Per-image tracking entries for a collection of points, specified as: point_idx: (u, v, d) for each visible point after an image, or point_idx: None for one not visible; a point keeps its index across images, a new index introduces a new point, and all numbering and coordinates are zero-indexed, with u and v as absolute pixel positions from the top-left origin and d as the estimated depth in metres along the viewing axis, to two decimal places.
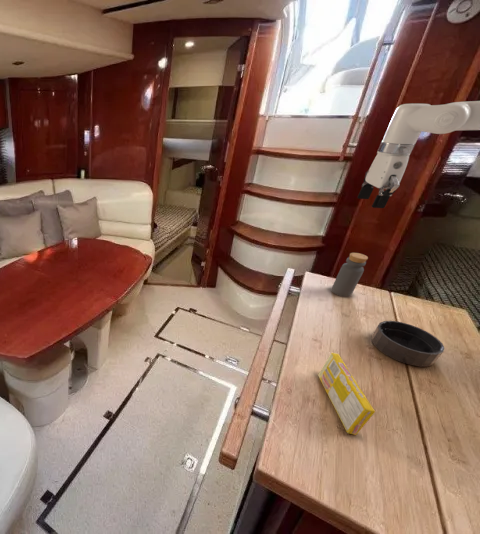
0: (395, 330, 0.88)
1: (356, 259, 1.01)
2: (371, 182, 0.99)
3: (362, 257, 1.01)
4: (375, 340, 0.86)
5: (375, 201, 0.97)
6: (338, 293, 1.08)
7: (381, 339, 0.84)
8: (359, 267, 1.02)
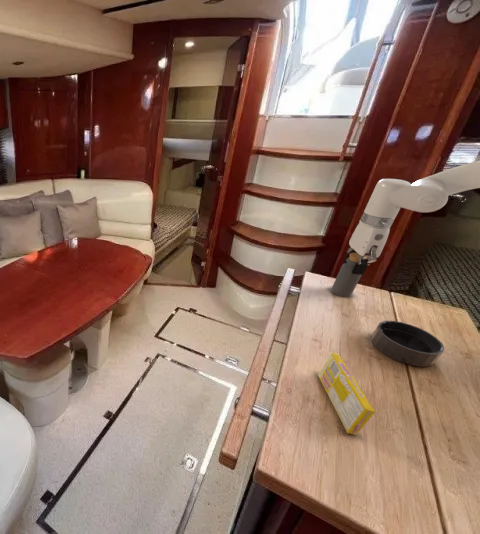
0: (395, 330, 0.88)
1: (356, 259, 1.01)
2: (354, 248, 1.01)
3: None
4: (375, 340, 0.86)
5: (354, 268, 1.01)
6: (338, 293, 1.08)
7: (381, 339, 0.84)
8: None
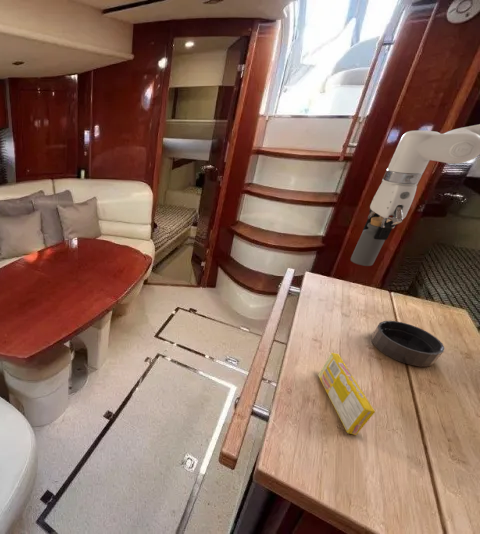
0: (395, 330, 0.88)
1: (379, 222, 0.93)
2: (376, 211, 0.93)
3: None
4: (375, 340, 0.86)
5: (377, 233, 0.93)
6: (358, 262, 1.00)
7: (381, 339, 0.84)
8: None
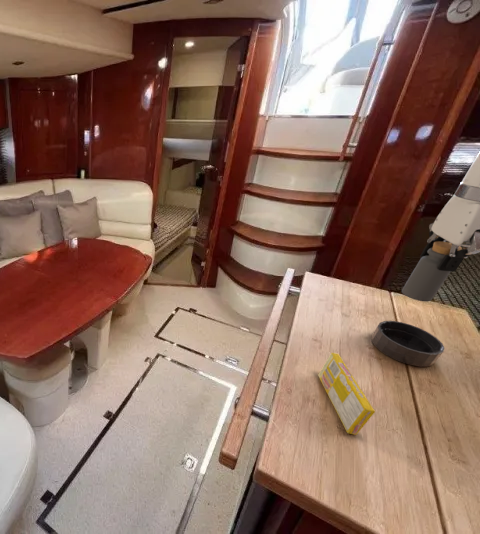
0: (395, 330, 0.88)
1: (446, 250, 0.73)
2: (442, 235, 0.74)
3: None
4: (375, 340, 0.86)
5: (443, 262, 0.73)
6: (414, 296, 0.80)
7: (381, 339, 0.84)
8: None
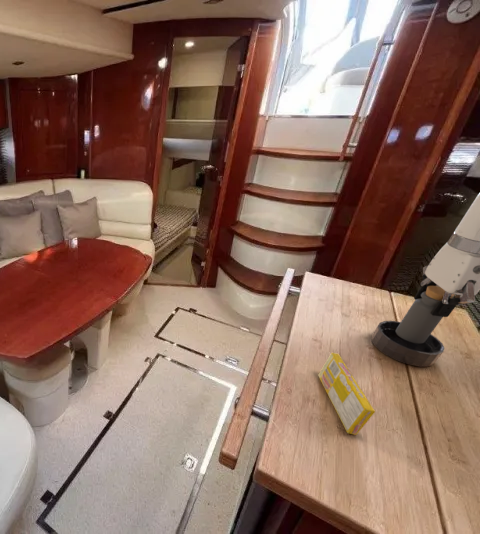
0: (395, 330, 0.88)
1: (439, 296, 0.74)
2: (435, 281, 0.75)
3: None
4: (375, 340, 0.86)
5: (436, 308, 0.74)
6: (407, 338, 0.81)
7: (381, 339, 0.84)
8: None
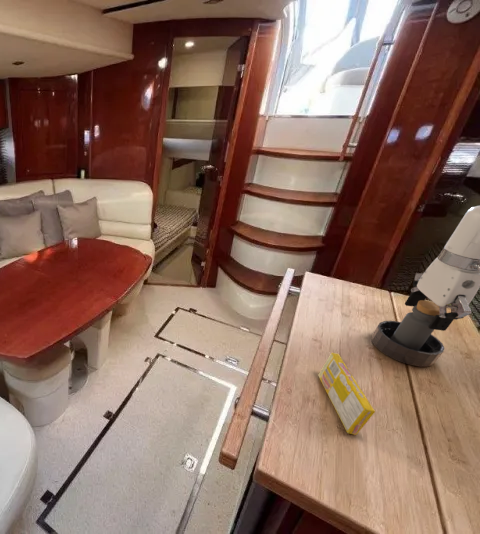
0: (395, 330, 0.88)
1: (429, 310, 0.76)
2: (427, 294, 0.77)
3: (436, 308, 0.76)
4: (375, 340, 0.86)
5: (434, 322, 0.74)
6: None
7: (381, 339, 0.84)
8: (431, 320, 0.77)
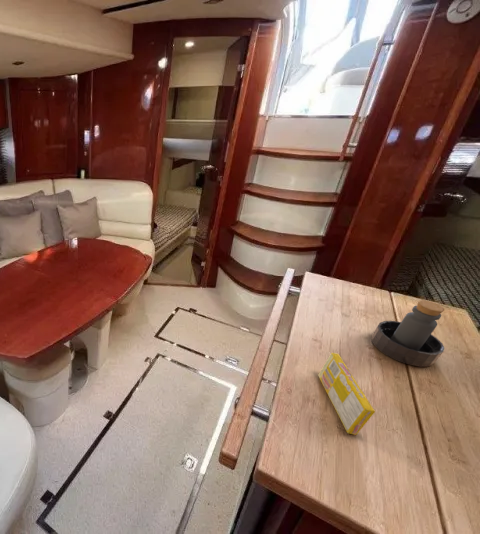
0: (395, 330, 0.88)
1: (429, 310, 0.76)
2: None
3: (436, 308, 0.76)
4: (375, 340, 0.86)
5: None
6: None
7: (381, 339, 0.84)
8: (431, 320, 0.77)
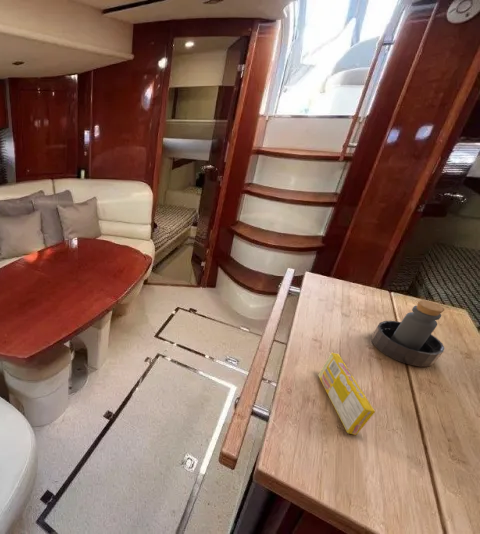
0: (395, 330, 0.88)
1: (429, 310, 0.76)
2: None
3: (436, 308, 0.76)
4: (375, 340, 0.86)
5: None
6: None
7: (381, 339, 0.84)
8: (431, 320, 0.77)
